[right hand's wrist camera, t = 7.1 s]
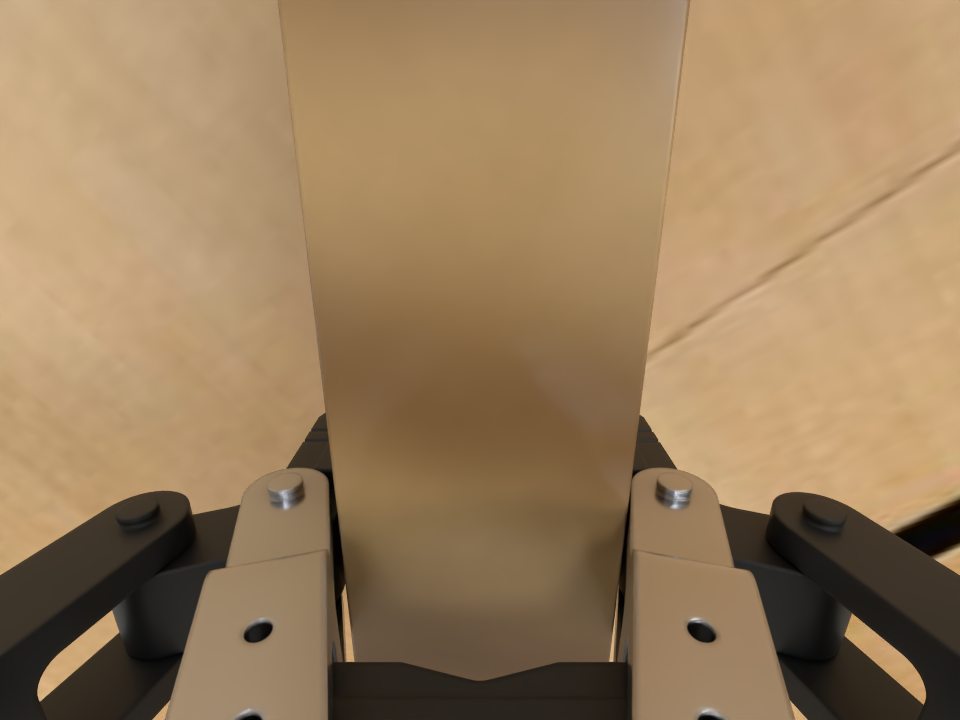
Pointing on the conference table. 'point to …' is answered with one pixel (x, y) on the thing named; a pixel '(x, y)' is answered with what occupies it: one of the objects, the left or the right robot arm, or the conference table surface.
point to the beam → (483, 307)
